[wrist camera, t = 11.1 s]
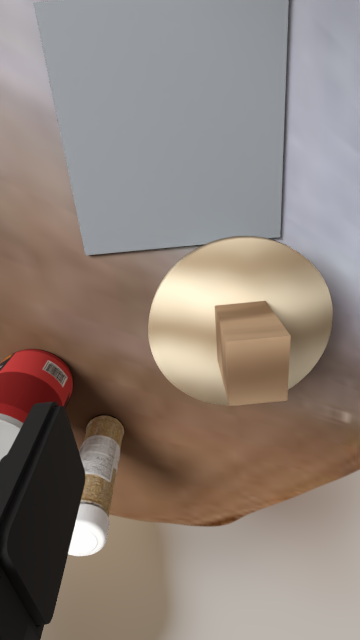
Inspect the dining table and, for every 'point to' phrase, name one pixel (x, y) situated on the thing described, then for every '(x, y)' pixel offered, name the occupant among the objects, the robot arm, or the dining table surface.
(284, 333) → the lid
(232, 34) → the mat
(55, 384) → the canned food
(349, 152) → the dining table surface
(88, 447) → the sprinkles bottle
